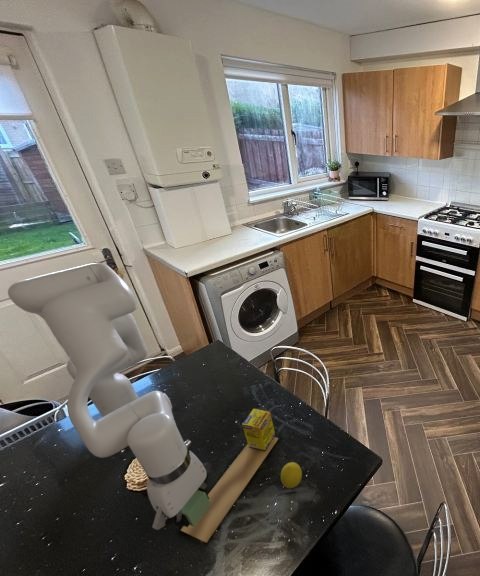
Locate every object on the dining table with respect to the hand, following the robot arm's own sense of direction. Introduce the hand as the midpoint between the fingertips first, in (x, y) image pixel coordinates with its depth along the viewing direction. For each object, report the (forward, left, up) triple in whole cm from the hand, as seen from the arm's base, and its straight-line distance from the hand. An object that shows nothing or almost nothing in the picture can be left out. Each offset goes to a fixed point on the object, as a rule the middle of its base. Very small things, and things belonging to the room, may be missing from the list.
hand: (193, 510), depth 73 cm
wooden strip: (0, +12, -7) cm, 14 cm away
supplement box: (0, +24, -7) cm, 25 cm away
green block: (0, 0, -1) cm, 1 cm away
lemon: (+16, +16, -8) cm, 24 cm away
